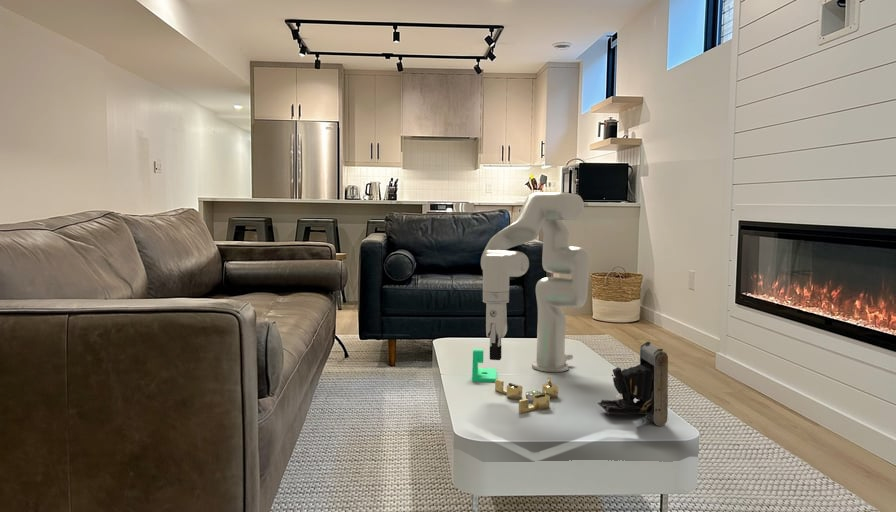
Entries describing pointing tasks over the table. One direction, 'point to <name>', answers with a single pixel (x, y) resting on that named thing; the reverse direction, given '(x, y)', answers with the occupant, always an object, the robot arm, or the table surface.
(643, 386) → the vintage camera
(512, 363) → the table surface
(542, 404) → the foot screw
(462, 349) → the table surface
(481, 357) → the camera mount
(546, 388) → the foot screw
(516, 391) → the foot screw
